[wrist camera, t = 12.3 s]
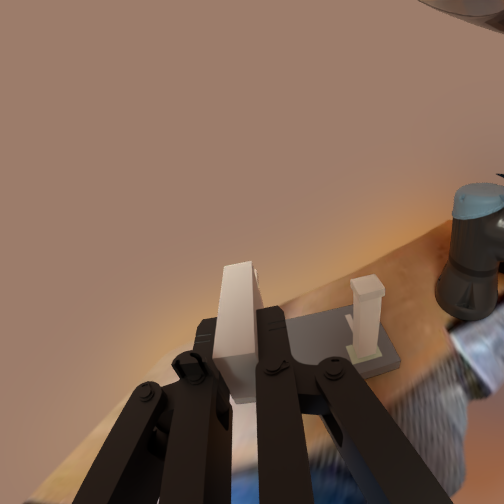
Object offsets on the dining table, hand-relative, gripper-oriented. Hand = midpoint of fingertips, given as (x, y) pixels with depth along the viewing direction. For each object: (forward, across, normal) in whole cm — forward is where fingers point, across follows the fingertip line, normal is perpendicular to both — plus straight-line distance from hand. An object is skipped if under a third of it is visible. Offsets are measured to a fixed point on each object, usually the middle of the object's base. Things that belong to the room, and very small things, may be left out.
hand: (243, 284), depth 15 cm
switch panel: (+18, +5, -28) cm, 34 cm away
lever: (+14, +13, -25) cm, 32 cm away
